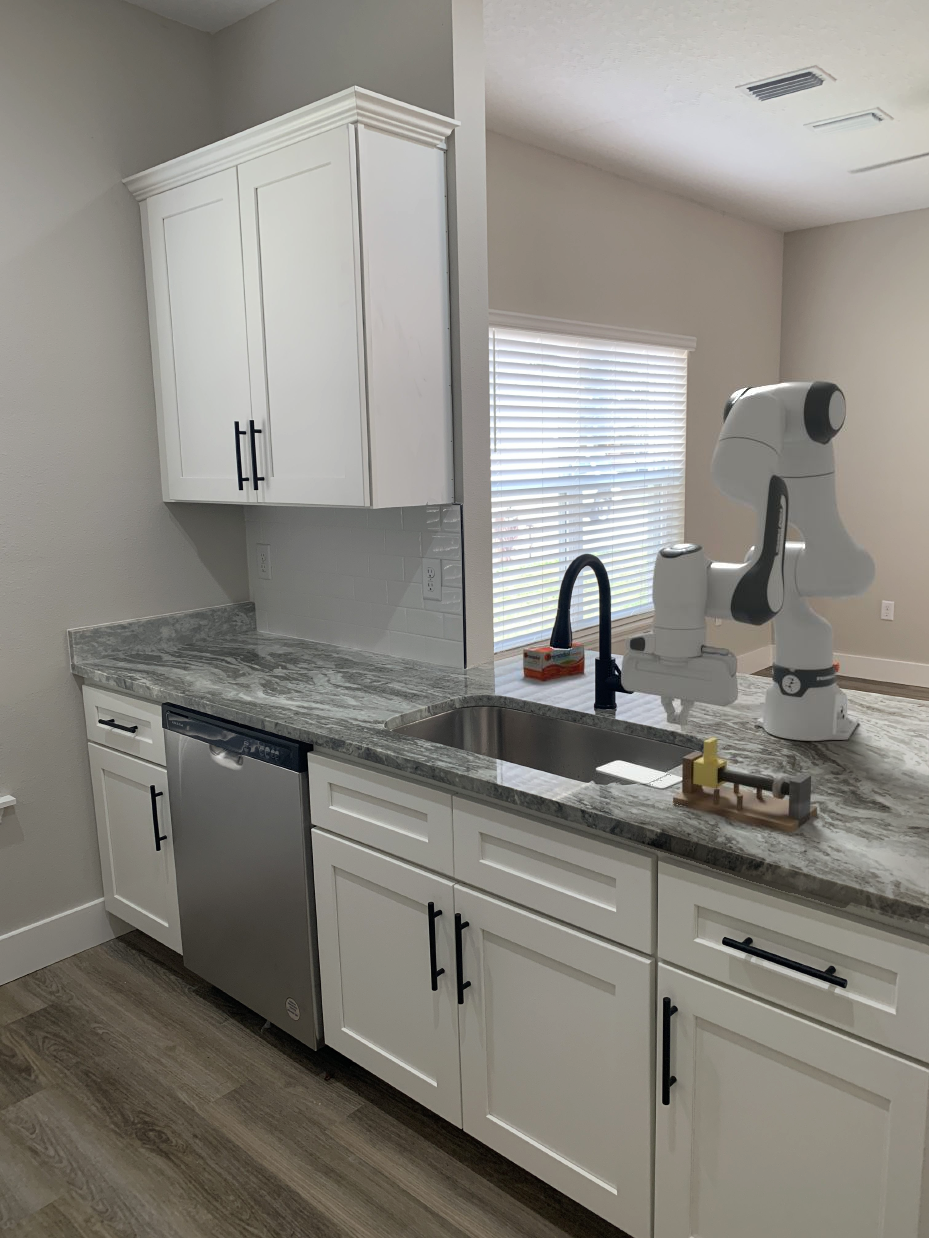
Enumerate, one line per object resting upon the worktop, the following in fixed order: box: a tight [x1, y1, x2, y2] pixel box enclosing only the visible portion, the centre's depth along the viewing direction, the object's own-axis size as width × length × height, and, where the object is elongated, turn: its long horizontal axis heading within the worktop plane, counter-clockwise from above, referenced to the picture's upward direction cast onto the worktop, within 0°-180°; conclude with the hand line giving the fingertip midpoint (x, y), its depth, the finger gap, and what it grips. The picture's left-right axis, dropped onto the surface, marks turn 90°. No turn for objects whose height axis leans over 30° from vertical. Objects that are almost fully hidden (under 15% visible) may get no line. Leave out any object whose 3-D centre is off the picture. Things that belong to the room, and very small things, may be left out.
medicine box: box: [522, 642, 586, 682], centre depth 249 cm, size 15×8×8 cm, turn 127°
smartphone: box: [595, 760, 682, 790], centre depth 170 cm, size 7×1×15 cm
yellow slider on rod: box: [672, 751, 818, 834], centre depth 152 cm, size 20×10×7 cm, turn 48°
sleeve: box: [693, 737, 728, 789], centre depth 155 cm, size 4×4×7 cm
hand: (677, 723), depth 158 cm, fingers closed
